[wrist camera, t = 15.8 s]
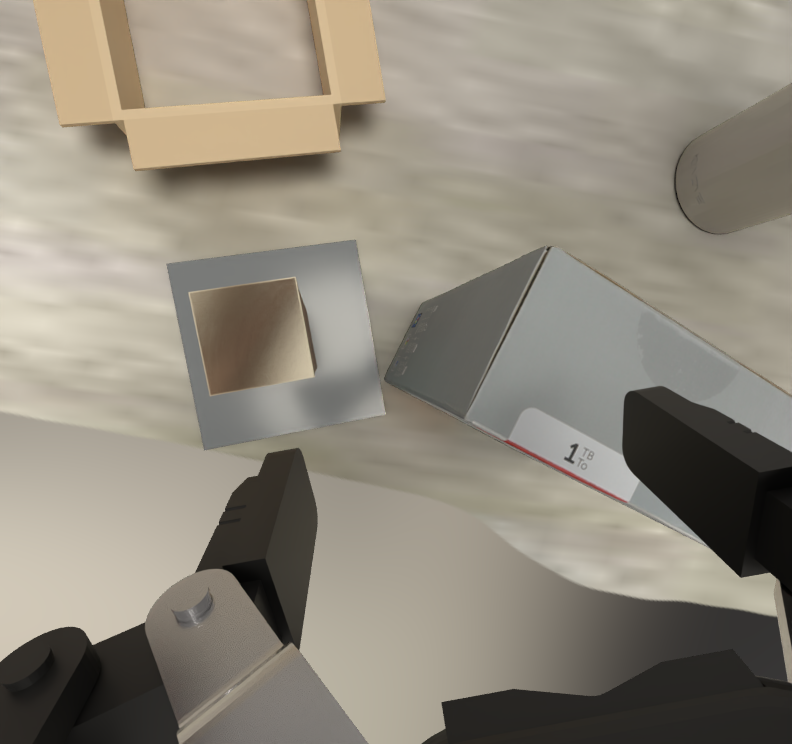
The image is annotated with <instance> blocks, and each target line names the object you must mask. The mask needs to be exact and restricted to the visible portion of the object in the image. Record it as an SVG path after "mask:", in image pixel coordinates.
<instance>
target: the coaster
mask: <svg viewBox="0 0 792 744" xmlns="http://www.w3.org/2000/svg"><path fill="white" fill-rule="evenodd" d="M167 269H168V274H169V279H170V283H171V288H172V293H173V298H174V303H175V308H176V313H177V318H178V323H179V328H180V333H181V338H182V343H183V348H184V353H185V358H186V363H187V368H188V372H189V377H190V382H191V387H192V392H193V397H194V402H195V407H196V412H197V417H198V422H199V427H200V432H201V437H202V442H203V447H204V450H208V449H213V448H218V447H223V446H228V445H233V444H239V443H244V442H249V441H254V440H259V439H264V438H269V437H274V436H279V435H284V434H290V433H295V432H300V431H305V430H310V429H315V428H320V427H325V426H330V425H335V424H341V423H346V422H351V421H356V420H361V419H366V418H371V417H376V416H381V415H386V413H385V407H384V401H383V395H382V389H381V383H380V378H379V372H378V366H377V360H376V354H375V349H374V343H373V337H372V331H371V325H370V320H369V314H368V308H367V302H366V296H365V290H364V285H363V279H362V273H361V267H360V261H359V256H358V250H357V244H356V240H350V241H342V242H334V243H326V244H318V245H310V246H303V247H295V248H287V249H279V250H271V251H263V252H256V253H248V254H240V255H232V256H224V257H216V258H209V259H201V260H193V261H185V262H177V263H169V264H167ZM290 277H296V279H297V283H298V289H299V291H300V294H301V297H302V300H303V302H304V305H305V308H306V311H307V316H308V321H309V327H310V332H311V337H312V343H313V348H314V353H315V359H316V364H317V369H316V371H315V377H313V378H307V379H302V380H296V381H291V382H285V383H280V384H274V385H269V386H264V387H258V388H253V389H247V390H242V391H236V392H231V393H225V394H220V395H214V396H210V395H209V390H208V385H207V380H206V375H205V371H204V366H203V361H202V356H201V351H200V346H199V341H198V337H197V332H196V327H195V322H194V317H193V312H192V308H191V303H190V298H189V293H188V292H193V291H200V290H207V289H214V288H221V287H228V286H235V285H242V284H249V283H255V282H262V281H269V280H276V279H283V278H290Z"/></svg>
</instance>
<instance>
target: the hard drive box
mask: <svg viewBox="0 0 792 744" xmlns="http://www.w3.org/2000/svg"><path fill="white" fill-rule="evenodd" d="M384 379H385V381H386V382H388V383H390V384H391V385H393V386H395V387H397V388H399V389H401V390H403V391H404V392H406V393H408V394H410V395H412V396H414V397H416V398H418V399H420V400H422V401H424V402H425V403H427V404H429V405H431V406H433V407H435V408H437V409H439V410H441V411H443V412H445V413H446V414H448V415H450V416H452V417H454V418H456V419H458V420H460V421H462V422H464V423H465V424H467V425H469V426H471V427H473V428H475V429H477V430H479V431H480V432H482V433H484V434H486V435H488V436H490V437H492V438H494V439H495V440H497V441H499V442H501V443H503V444H505V445H507V446H509V447H511V448H513V449H515V450H516V451H518V452H520V453H522V454H524V455H526V456H528V457H530V458H532V459H534V460H536V461H538V462H540V463H542V464H544V465H546V466H548V467H550V468H552V469H554V470H556V471H558V472H560V473H562V474H564V475H565V476H567V477H569V478H571V479H573V480H575V481H577V482H579V483H581V484H583V485H585V486H587V487H589V488H591V489H593V490H595V491H597V492H599V493H601V494H603V495H605V496H607V497H609V498H611V499H613V500H615V501H617V502H619V503H621V504H623V505H625V506H627V507H629V508H631V509H633V510H635V511H637V512H639V513H641V514H643V515H645V516H647V517H649V518H651V519H653V520H655V521H657V522H659V523H661V524H663V525H665V526H667V527H669V528H671V529H673V530H675V531H677V532H679V533H681V534H683V535H684V536H686V537H689V538H690V539H692V540H694V541H696V542H698V543H700V544H702V545H704V546H706V547H708V546H707V545H706V544H705V543H704V542H703V541H702V540H701V539H700V538H699V537H698V536H697V535H696V534H695V533H694V532H693V531H692V530H691V529H690V528H689V527H688V526H687V525H686V524H685V523H684V522H683V521H681V520H680V519H679V518H678V517H677V516H676V515H675V514H674V513H673V512H672V511H671V510H670V509H669V508H668V507H667V506H666V505H665V504H664V503H663V502H662V501H661V500H660V499H659V498H658V497H657V496H656V495H655V494H653V493H652V492H651V491H650V490H649V489H648V488H647V487H646V486H645V485H644V484H643V483H642V482H641V481H640V480H639V479H638V478H637V477H636V476H635V475H634V474H633V473H632V472H631V471H630V470H629V468H628V466H627V464H626V462H625V460H624V456H623V452H622V436H623V409H624V398H625V395H626V394H627V393H628V392H629V391H633V390H639V389H644V388H650V387H656V386H664V387H666V388H668V389H670V390H672V391H673V392H675V393H677V394H679V395H680V396H682V397H684V398H686V399H687V400H689V401H691V402H693V403H697V404H700V405H703V406H706V407H709V408H713V409H715V410H717V411H719V412H721V413H723V414H724V415H726V416H728V417H730V418H732V419H733V420H735V423H738V422H739V423H741V424H742V425H744V426H746V427H748V428H750V429H751V431H752V432H757V433H758V434H760V435H762V436H764V437H766V438H767V439H769V440H771V441H773V442H775V443H776V444H778V445H780V446H782V447H784V448H785V449H787V450H789V451H791V452H792V395H791V394H790V393H788V392H786V391H785V390H783V389H782V388H780V387H779V386H777V385H775V384H774V383H772V382H771V381H769V380H768V379H766V378H765V377H763V376H762V375H760V374H758V373H757V372H755V371H754V370H752V369H750V368H749V367H747V366H745V365H744V364H742V363H741V362H739V361H737V360H736V359H734V358H733V357H731V356H730V355H728V354H726V353H725V352H723V351H722V350H720V349H719V348H717V347H716V346H714V345H713V344H711V343H709V342H708V341H706V340H705V339H703V338H702V337H700V336H698V335H697V334H695V333H694V332H692V331H691V330H689V329H688V328H686V327H684V326H683V325H681V324H680V323H678V322H677V321H675V320H674V319H672V318H671V317H669V316H668V315H666V314H664V313H663V312H661V311H660V310H658V309H657V308H655V307H654V306H652V305H650V304H649V303H647V302H646V301H644V300H643V299H641V298H640V297H638V296H636V295H635V294H633V293H632V292H630V291H629V290H627V289H626V288H624V287H623V286H621V285H620V284H618V283H617V282H615V281H613V280H612V279H610V278H609V277H607V276H606V275H604V274H602V273H601V272H599V271H597V270H596V269H594V268H593V267H591V266H589V265H588V264H586V263H584V262H583V261H581V260H580V259H578V258H576V257H575V256H573V255H571V254H569V253H568V252H566V251H564V250H563V249H561V248H560V247H557V246H551V247H548V246H547V245H546V246H544V247H542V248H540V249H537V250H535V251H532V252H530V253H528V254H526V255H523V256H521V257H520V258H518V259H515V260H514V261H512V262H510V263H508V264H505V265H504V266H502V267H499V268H497V269H495V270H493V271H490V272H489V273H486V274H484V275H482V276H480V277H477V278H475V279H473V280H470V281H469V282H467V283H465V284H462V285H461V286H459V287H456V288H454V289H452V290H450V291H448V292H446V293H443V294H441V295H439V296H437V297H434V298H432V299H430V300H427V301H426V302H423V303H422V304H421V306H420V308H419V310H418V312H417V314H416V316H415V318H414V320H413V322H412V324H411V326H410V327H409V329H408V331H407V333H406V335H405V337H404V339H403V341H402V343H401V345H400V347H399V349H398V351H397V353H396V355H395V357H394V359H393V361H392V363H391V365H390V367H389V369H388V371H387V373H386V376H385V378H384ZM708 548H709V547H708ZM710 549H711V548H710Z"/></svg>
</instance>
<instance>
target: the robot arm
mask: <svg viewBox="0 0 792 744" xmlns="http://www.w3.org/2000/svg"><path fill="white" fill-rule="evenodd" d="M676 191H677V196H678V200H679V202H680V205H681V207H682V209H683V211H684V212H685V214H686V215H687V217H688V218H689V219H690V220H691V221H692V222H693V223H694V224H695V225H696V226H698V227H699V228H701V229H702V230H705V231H707V232H710V233H716V234H724V233H730V232H734V231H737V230H740V229H744V228H747V227H750V226H754V225H757V224H760V223H764V222H767V221H770V220H774V219H777V218H781V217H784V216H787V215H791V214H792V83H791V84H789V85H787V86H786V87H784V88H782V89H781V90H779V91H777V92H775V93H774V94H772V95H770V96H769V97H767V98H765V99H763V100H762V101H760V102H758V103H756V104H755V105H753V106H751V107H750V108H748V109H746V110H744V111H742V112H741V113H739V114H737V115H735V116H734V117H732V118H730V119H729V120H727V121H725V122H723V123H722V124H720V125H718V126H717V127H715V128H713V129H711V130H710V131H708V132H706V133H705V134H703V135H701V136H700V137H698V138H697V139H695V140H694V141H692V142H691V143H690V145H689V146H688V147H687V148H686V149H685V151H684V152H683V154H682V156H681V158H680V161H679V164H678V166H677V172H676ZM622 452H623V456H624V460H625V462H626V464H627V466H628V468H629V470H630V471H631V472H632V473H633V474H634V475H635V476H636V477H637V478H638V479H639V480H640V481H641V482H642V483H643V484H644V485H645V486H646V487H647V488H648V489H649V490H650V491H651V492H652V493H653V494H655V495H656V496H657V497H658V498H659V499H660V500H661V501H662V502H663V503H664V504H665V505H666V506H667V507H668V508H669V509H670V510H671V511H672V512H673V513H674V514H675V515H676V516H677V517H678V518H679V519H680V520H681V521H683V522H684V523H685V524H686V525H687V526H688V527H689V528H690V529H691V530H692V531H693V532H694V533H695V534H696V535H697V536H698V537H699V538H700V539H701V540H702V541H703V542H704V543H705V544H706V545H707V546H708V547H709V548H711V549H712V550H713V551H714V552H715V553H716V554H717V555H718V556H719V557H720V558H721V559H722V560H723V561H724V562H725V563H726V564H727V565H728V566H729V567H730V568H731V569H732V570H733V571H734V572H735V573H736V574H737V575H739V576H740V577H741V578H742V577H748V576H753V575H759V574H764V573H771V574H772V575H773V576H775V577H776V583H775V588H774V598H775V604H776V610H777V616H778V623H779V629H780V635H781V641H782V646H783V653H784V659H785V665H786V671H787V678H788V682H786V681H782V680H777V679H771V678H766V677H761V676H755V675H754V674H753V673H752V672H751V671H750V669H749V668H748V667H747V666H746V664H745V663H744V662H743V661H742V660H741V659H740V657H739V656H738V655H737V654H736V653H735V651H734V650H733V649H731V650H725V651H720V652H714V653H709V654H703V655H698V656H692V657H687V658H681V659H676V660H670V661H665V662H661V663H659V664H657V665H655V666H653V667H652V668H650V669H648V670H646V671H645V672H643V673H641V674H639V675H637V676H635V677H634V678H632V679H630V680H628V681H626V682H624V683H623V684H621V685H619V686H617V687H616V688H614V689H612V690H610V691H608V692H606V693H604V694H602V695H599V696H582V695H570V694H560V693H550V692H538V691H528V690H517V689H512V690H506V691H500V692H495V693H490V694H484V695H479V696H473V697H468V698H463V699H457V700H451V701H446V702H442V708H443V714H444V721H445V726H446V729H444V730H443V731H441V732H439V733H437V734H435V735H433V736H432V737H430V738H429V739H427V740H426V741H425V742H423V743H422V744H792V452H791V451H789V450H787V449H785V448H784V447H782V446H780V445H778V444H776V443H775V442H773V441H771V440H769V439H767V438H766V437H764V436H762V435H760V434H758V433H757V432H752V431H751V429H750V428H748V427H746V426H744V425H742V424H741V423H739V422H738V423H735V420H733V419H732V418H730V417H728V416H726V415H724V414H723V413H721V412H719V411H717V410H715V409H713V408H709V407H706V406H703V405H700V404H697V403H693V402H691V401H689V400H687V399H686V398H684V397H682V396H680V395H679V394H677V393H675V392H673V391H672V390H670V389H668V388H666V387H664V386H656V387H650V388H644V389H639V390H633V391H629V392H628V393H627V394H626V395H625V398H624V409H623V436H622ZM316 532H317V508H316V503H315V498H314V495H313V491H312V488H311V484H310V480H309V476H308V472H307V469H306V465H305V461H304V458H303V455H302V452H301V450H300V449H299V448H296V449H290V450H284V451H278V452H273V453H268V454H267V455H266V457H265V460H264V462H263V465H262V467H261V470H260V472H259V475H258V476H254V477H249V478H247V479H246V480H245V481H244V482H243V483H242V484H241V485H240V486H239V487H238V488H237V489H236V490H235V491H234V492H233V493H232V495H231V497H230V500H229V501H228V503H227V506H226V508H225V512H223V514H222V516H221V518H220V521H219V525H218V526H217V527H216V529H215V531H214V533H213V536H212V538H211V540H210V542H209V544H208V546H207V548H206V551H205V553H204V555H203V557H202V559H201V561H200V564H199V566H198V568H197V570H196V572H195V573H194V574H192V575H190V576H187V577H186V578H184V579H182V580H180V581H179V582H177V583H176V584H174V585H173V586H171V587H170V588H169V589H168V590H167V591H166V592H165V593H163V594H162V595H161V596H160V597H159V599H158V600H157V601H156V602H155V604H154V605H153V606H152V608H151V610H150V612H149V614H148V616H147V619H146V622H145V623H143V624H141V625H139V626H136V627H134V628H131V629H129V630H127V631H125V632H122V633H120V634H118V635H115V636H113V637H111V638H109V639H106V640H104V641H102V642H99V643H97V644H95V645H92V644H91V642H90V640H89V639H88V637H87V636H86V634H85V632H84V631H83V630H81V629H80V628H76V627H64V628H59V629H55V630H52V631H49V632H47V633H44V634H42V635H40V636H38V637H36V638H34V639H32V640H31V641H29V642H27V643H25V644H24V645H22V646H21V647H19V648H18V649H16V650H15V651H13V652H12V653H11V654H10V655H8V656H7V657H6V658H5V659H3V660H2V661H1V662H0V744H368V743H367V741H366V740H365V739H364V737H363V736H362V734H361V733H360V732H359V730H358V729H357V728H356V727H355V725H354V724H353V722H352V721H351V720H350V719H349V717H348V716H347V714H346V713H345V712H344V710H343V709H342V708H341V706H340V705H339V704H338V702H337V701H336V700H335V698H334V697H333V696H332V694H331V693H330V692H329V690H328V689H327V687H325V685H324V684H323V682H322V681H321V679H320V678H319V677H318V675H317V674H316V673H315V671H314V670H313V669H312V667H311V666H310V665H309V663H308V662H307V661H306V659H305V658H304V657H303V655H302V654H301V653H300V651H299V648H300V641H301V635H302V628H303V621H304V614H305V607H306V601H307V594H308V587H309V580H310V573H311V566H312V560H313V553H314V546H315V539H316Z"/></svg>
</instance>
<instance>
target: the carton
mask: <svg viewBox="0 0 792 744" xmlns="http://www.w3.org/2000/svg"><path fill="white" fill-rule="evenodd" d="M33 2H34V7H35V12H36V16H37V21H38V26H39V30H40V35H41V40H42V44H43V49H44V54H45V59H46V63H47V68H48V73H49V77H50V82H51V87H52V91H53V96H54V101H55V105H56V110H57V115H58V119H59V124H60V125H61V126H62V127H73V126H86V125H99V124H112V123H116V124H117V126H118V127H119V128H120V129H121V130H122V131H123V132H124V133H125V134H126V136H127V139H128V144H129V149H130V154H131V159H132V164H133V168H134V170H135V171H143V170H154V169H164V168H175V167H186V166H196V165H207V164H217V163H228V162H239V161H249V160H260V159H271V158H281V157H292V156H303V155H313V154H324V153H335V152H341V148H340V142H339V134H340V121H341V107H342V106H347V105H360V104H373V103H385V93H384V87H383V81H382V75H381V69H380V63H379V57H378V51H377V45H376V39H375V32H374V26H373V20H372V14H371V8H370V2H369V0H307V3H308V9H309V15H310V20H311V26H312V32H313V38H314V43H315V49H316V55H317V61H318V67H319V72H320V78H321V84H322V90H323V95H321V96H307V97H293V98H279V99H266V100H252V101H238V102H224V103H210V104H196V105H182V106H169V107H155V108H145V105H144V100H143V95H142V90H141V85H140V80H139V75H138V70H137V65H136V60H135V55H134V50H133V45H132V40H131V35H130V30H129V25H128V20H127V15H126V10H125V5H124V0H33Z"/></svg>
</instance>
